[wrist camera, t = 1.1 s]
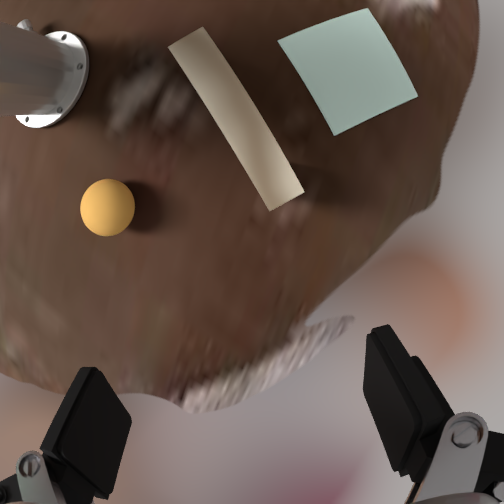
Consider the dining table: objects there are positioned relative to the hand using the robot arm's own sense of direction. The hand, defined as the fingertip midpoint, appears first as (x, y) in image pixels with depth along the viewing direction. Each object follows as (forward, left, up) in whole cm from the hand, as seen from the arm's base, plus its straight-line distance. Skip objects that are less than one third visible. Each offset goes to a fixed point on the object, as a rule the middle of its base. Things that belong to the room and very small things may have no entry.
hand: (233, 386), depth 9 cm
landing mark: (-8, +18, -25) cm, 32 cm away
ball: (-8, -12, -22) cm, 26 cm away
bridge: (-8, +4, -25) cm, 26 cm away
